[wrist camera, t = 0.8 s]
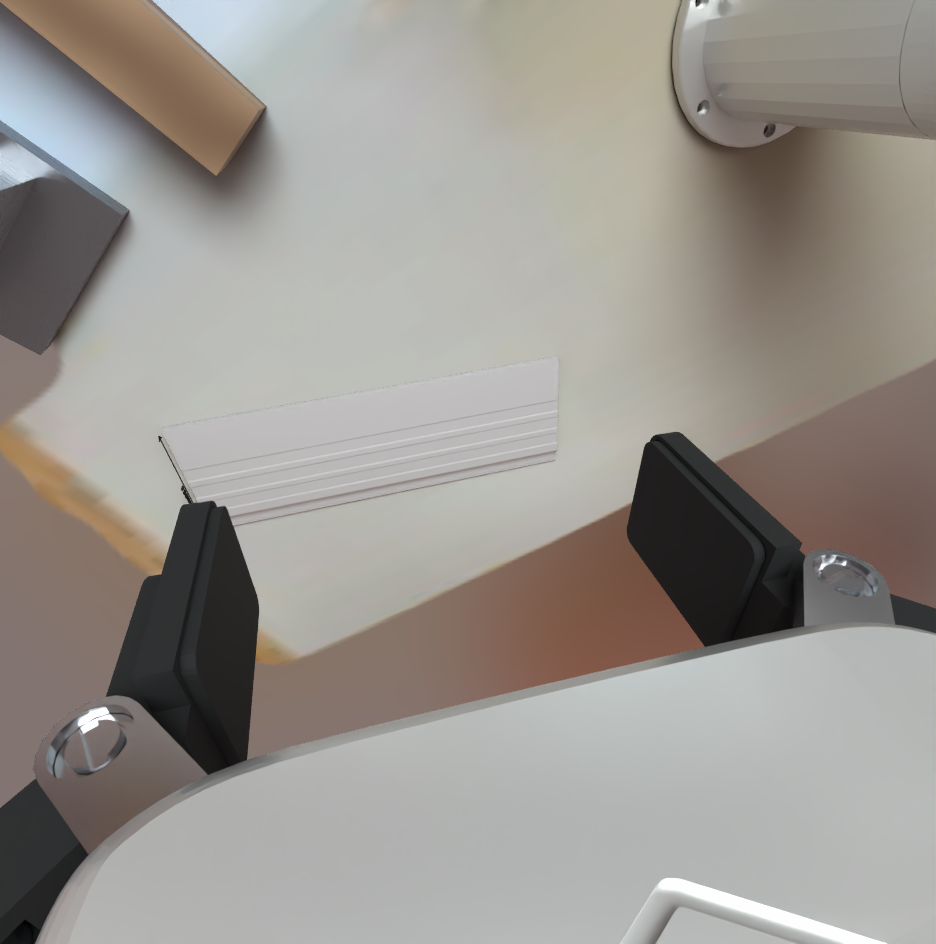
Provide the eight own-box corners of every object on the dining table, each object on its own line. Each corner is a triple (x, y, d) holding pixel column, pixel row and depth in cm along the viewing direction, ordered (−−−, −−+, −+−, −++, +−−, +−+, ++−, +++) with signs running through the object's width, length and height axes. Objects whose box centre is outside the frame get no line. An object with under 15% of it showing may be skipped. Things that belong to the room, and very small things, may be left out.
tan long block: (-74, -209, 23) (-156, -268, 19) (266, 106, 32) (258, 110, 28) (-108, -115, 24) (-191, -152, 20) (229, 163, 33) (216, 175, 29)
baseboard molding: (551, 466, 52) (552, 351, 45) (562, 484, 50) (564, 366, 43) (221, 534, 49) (164, 420, 41) (216, 557, 46) (155, 440, 39)
